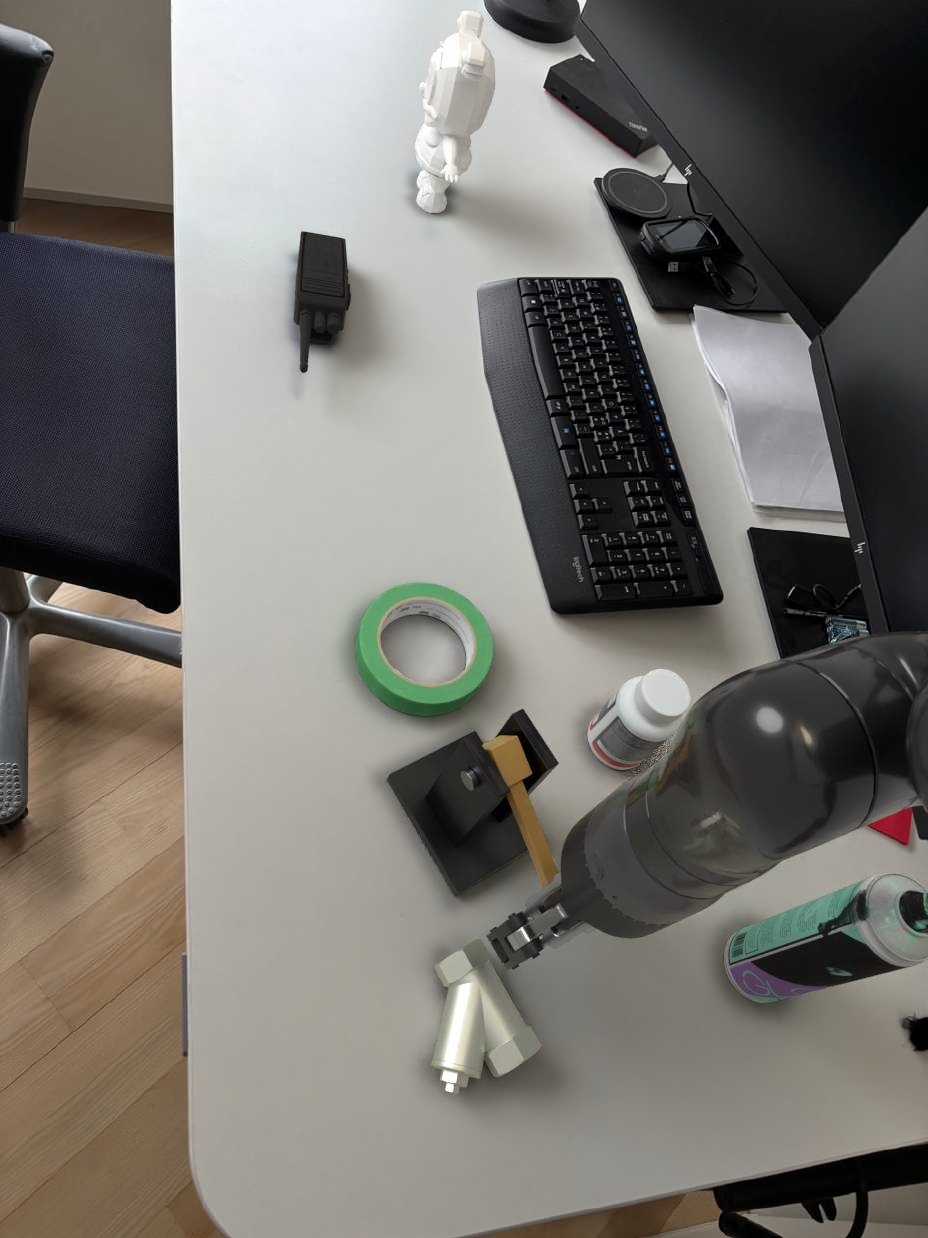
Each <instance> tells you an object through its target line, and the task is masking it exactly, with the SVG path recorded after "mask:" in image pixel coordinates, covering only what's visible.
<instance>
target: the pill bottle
mask: <svg viewBox="0 0 928 1238" xmlns="http://www.w3.org/2000/svg"><path fill="white" fill-rule="evenodd" d="M691 699H692V697H691V691H690V688H689V686H688V685H687V683H686V682H685V680H684V679H683V678H682V677H681V676H680V675H679V674H678V673H676V672H674V671H672V670H670V669H667V668H655V669H652V670H650V671H648V672H647V673H646V674H645V675H639V676H635V677H632V678H630V679H629V680H627V681H626V682H624V683H623V684H622V685H621V686H620V687H619V689H618V690H617V691H616V692H615V693H613V695H612V696H611V698H609V699H608V701H607V702H606V703H605V704H604V705H603V706H602V707H601V708H600V710H599V711H598V712H597V713H596V714H595V716H593V717H592V719H591V720H590V722H589V725H588V728H587V741H588V742H587V743H588V745H589V747H590V749H591V751H592V753H593V755H594V756H595V757H596V758H597V759H598V760H599V761H600V762H601V763H602V764H604V766H605V765H606V766H607V767H609V768H612V769H615V770H619V771H620V770H622V771H624V770H625V771H626V770H631V769H634V768H636V767H637V766H639V765H640V764H642V763H643V762H644V761H645V760H646V759H648V757H649V756H651V754H653V753H654V752H656V750H657V749H659V748H660V747H661V746H662V745H664V744H665V742H667V741H668V740H669V739H671V738H672V737H673V736H674V735H675V734H676V733H677V731H678V729H679V727H680V725H681V723H682V721H683V718H684V713H686V712H687V711H688V710H689V708H690V704H691Z"/></svg>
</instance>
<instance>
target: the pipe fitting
mask: <svg viewBox="0 0 928 1238" xmlns="http://www.w3.org/2000/svg"><path fill="white" fill-rule="evenodd" d="M490 960H491V953H489V951H488V949H487V946H485V944H484V942H483V940H482V939H481V938H476V939H474V940H472V941H471V942H469V943H468V944H466V945H464V946H462V947H461V948H460V949H458V950H457V951H455V952H453V953H452V954H450V955H448V956H447V957H446V958H444V959H442V960H441V961H440V962H438V963H437V964H435V965H434V971H435V972H436V974H437V976H438V978H439V980H440V981H441V984H442V986H443V987H445V988H447V989H448V990H447V995H446V999H445V1003H444V1007H443V1011H442V1016H441V1021H440V1025H439V1029H438V1034H437V1038H436V1042H435V1047H434V1052H433V1056H432V1060H431V1067H433V1068H436V1069H438V1070H441V1072H440V1075H439V1081H440V1082H442V1083H445V1085H444V1092H447V1093H450V1094H454V1095H459V1091H460V1088H467V1087H468V1083H469V1078H472V1079H477V1080H479V1079H481V1077H482V1072H483V1067H484V1063H485V1064H486V1065H487V1067H488V1069H489V1071H490V1072H491V1075H492V1076H493V1077H495V1078H500V1077H502V1076H504V1075H506V1074H508V1073H510V1072H511V1071H513V1070H514V1069H516V1068H517V1067H518V1066H520V1065H522V1064H523V1063H525V1062H526V1061H527V1060H529V1059H530V1058H531V1057H533V1056H534V1055H535V1054H536V1053H538V1052H539V1051H540V1049H541V1047H542V1043H541V1041H540V1040H539V1038H538V1037H537V1034H536V1033H535V1031H534V1029H533V1028H532V1026H530V1025H527V1024H526V1022H525V1021H524V1019H523V1017H522V1016H521V1014H520V1012H519V1011H518V1008H517V1007H516V1005H515V1003H514V1002H513V1000H512V998H511V996H510V994H509V993H508V991H507V989H506V988H505V986H504V984H503V982H502V981H501V979H500V977H499V974H498V973H497V972H496V970H495V968H494V966H493V964H492V962H491V961H490Z"/></svg>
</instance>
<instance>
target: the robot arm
mask: <svg viewBox="0 0 928 1238" xmlns="http://www.w3.org/2000/svg"><path fill="white" fill-rule="evenodd" d="M674 735H675V736H674V737H673V738H672V739H673V740H672V742H671V743H670V746H669V748H668V750H667V752H665V754H664V755H663V756H661V757H660V758H659V759H658V760H657V761H655V762H654V763H653V764H652V765H651V766H649V767H648V768H647V769H646V770H645V771H643V772H640V773H639V774H637V775H635V776H633V777H631V778H629V779H627V780H626V781H624V782H623V783H621V785H619V786H618V787H617V788H616V789H614V790H613V791H612V792H610V794H609V795H607V796H606V797H605V798H604V799H603V800H602V801H600V802H599V803H598V804H597V805H595V806H593V808H592V809H591V810H590V811H588V812H587V813H586V814H585V815H584V816H583V817H581V818H580V819H579V820H578V821H577V822H576V823H575V824H574V825H573V827H571V829H570V830H569V832H568V834H567V835H566V838H565V840H564V841H563V845H562V849H561V854H560V862H559V863H560V865H559V866H560V868H559V869H560V871H558V873H557V874H555V875H554V877H553V881H552V882H551V883H550V884H548V885H547V886H545V887H544V888H543V887H542V888H541V889H540V890H538V891H537V892H535V893H534V894H532V895H530V896H529V897H528V898H527V899H526V900H525V902H524V905H525V906H524V907H525V910H521V911H518V912H517V913H516V911H514V912H512V913H511V914H509V915H508V916H507V918H508V919H507V920H505V921H504V922H502V923H501V924H499V925H498V926H494V927H493V928H491V929H489V933H488V934H486V935H485V936H486V939H487V940H488V942H489V944H490V946H491V947H492V949H493V951H494V952H495V954H496V956H497V958H498V959H499V961H500V962H501V964H502V966H503V968H504V969H505V971H506V972H507V971H510V970H512V971H514V970H516V969H517V968H519V967H520V965H521V964H522V963H525V962H526V961H528V960H530V959H531V958H532V960H534V959H536V958H538V957H539V956H540V955H541V953H540V952H542V951H543V950H544V949H545V947H546V946H548V947H550V948H551V949H553V950H554V949H555V950H556V949H559V948H560V947H562V946H564V945H565V944H567V943H568V942H570V941H572V940H573V939H575V938H576V937H578V936H580V935H581V934H583V933H586V934H591V933H593V932H594V931H596V930H597V931H600V932H602V933H603V934H606V935H608V936H611V937H614V938H620V939H627V940H629V939H631V940H632V939H641V938H645V937H648V936H650V935H653V934H655V933H657V932H660V931H662V930H663V929H666V928H668V927H670V926H672V925H674V924H677V923H678V922H681V921H683V920H685V919H687V918H689V917H692V916H693V915H696V914H698V913H700V912H703V911H704V910H706V909H708V908H709V907H711V906H712V905H714V904H715V903H716V902H718V901H720V899H721V898H722V897H724V896H725V895H726V894H728V893H729V892H732V891H733V890H736V889H738V888H740V887H742V886H744V885H746V884H749V883H750V882H752V881H754V880H757V879H759V878H760V877H762V876H764V875H765V874H767V873H769V872H770V871H772V870H773V869H774V868H776V867H777V866H778V865H780V864H781V863H782V862H783V861H785V860H788V859H790V858H793V857H795V856H798V855H801V854H803V853H805V852H808V851H810V850H813V849H816V848H817V847H820V846H823V845H824V844H827V843H830V842H831V841H834V840H836V839H838V838H841V837H843V836H846V835H849V833H851V832H854V831H856V830H859V829H861V828H863V827H866V826H869V825H870V824H873V823H876V822H878V821H880V820H883V819H885V818H887V817H890V816H892V815H896V814H897V813H898V812H901V811H903V810H907V809H909V808H912V807H920V806H922V807H923V809H924V810H925V811H926V813H927V814H928V631H926V630H910V631H909V630H903V631H889V632H880V633H872V634H871V633H870V634H865V635H858V636H854V637H853V636H852V637H850V638H845V639H841V640H838V641H833V642H830V643H828V644H824V645H821V646H818V647H815V648H813V649H810V650H806V651H803V652H800V653H797V654H793V655H790V656H786V657H784V658H780V659H776V660H774V661H771V662H767V663H764V664H761V665H758V666H754V667H751V668H749V669H746V670H744V671H741V672H739V673H737V674H734V675H732V676H731V677H728V678H727V679H725V680H723V681H722V682H720V683H718V684H717V685H715V686H714V687H712V688H711V689H710V690H708V691H707V692H706V693H704V694H703V695H702V696H700V698H698V699H697V700H696V701H695V702H694V703H693V704H692V705H691V707H689V708H688V709H687V711H686V712H685V715H684V716H683V718H682V722H681V725H680V727H679V728H678V730H677V731H676V732H675V734H674ZM560 887H561V888H560ZM559 888H560V889H559ZM557 889H558V890H557ZM556 890H557V891H556ZM554 891H555V892H554ZM553 892H554V893H553ZM551 893H552V894H551ZM550 894H551V895H550ZM529 918H531V920H532V919H533V920H532V921H530V919H529ZM541 934H543V935H542V937H541V938H540V937H539V935H541Z"/></svg>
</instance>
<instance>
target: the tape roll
mask: <svg viewBox="0 0 928 1238" xmlns="http://www.w3.org/2000/svg"><path fill="white" fill-rule="evenodd" d="M480 611H481V610H479V609H478V607H476V605H475V604H474V603H472V602H471V601H470V599H468V598H466V597H465V596H464V595H462V594H461V593H459V592H458V591H456V590H454V589H451V588H449V587H446V586H443V585H440V584H437V583H430V582H410V583H405V584H400V585H397V586H394V587H391V588H389V589H388V590H385V591H384V592H382V593H381V594H380V595H379V596H377V597H376V598H375V599H374V600H373V601H372V602H371V603H370V604H369V606H368V607H367V609H366V610H365V612H364V614H363V617H362V619H361V622H360V625H359V627H358V632H357V635H356V639H355V646H354V647H355V648H354V657H355V663H356V667H357V670H358V672H359V675H360V677H361V679H362V681H363V682H364V683H365V685H366V687H367V688H368V690H369V691H370V692H371V693H372V694H373V695H374V696H375V697H376V698H378V699H379V701H380V702H382V703H384V704H385V705H387V706H388V707H390V708H392V709H394V710H396V711H398V712H402V713H404V714H408V715H412V716H417V717H418V716H419V717H434V716H440V715H444V714H445V715H446V714H448V713H450V712H454V711H456V710H457V709H458V710H459V708H461V707H463V706H464V705H465V704H467V703H468V702H469V701H470V700H471V699H472V698H473V697H474V695H476V693H477V692H478V690H479V689H480V688H481V686H482V684H483V683H484V681H485V679H486V678H487V676H488V674H489V672H490V669H491V667H492V663H493V659H494V658H493V657H494V641H493V636H492V632H491V629H490V626H489V624H488V621H487V620H486V618H485V617H484V615H483V614H482V612H480ZM410 615H422V616H423V615H424V616H429V617H433V618H435V619H438V620H439V621H442V622H443V623H445V624H446V625H448V626H449V627H450V628H451V629H452V630H453V631H454V632H455V633H456V634H457V635H458V637H459V638H460V640H461V642H462V644H463V648H464V650H465V655H466V656H465V658H466V661H465V668H464V670H462V672H460V674H458V675H457V676H456V677H454V678H451V679H450V680H447V681H445V682H439V683H428V682H427V683H426V682H422V681H421V682H420V681H416V680H414V679H410V678H409V677H407V676H405V675H404V674H403V673H401V672H400V671H399V670H398V669H396V668H394V667H393V665H392V664H391V663H390V662H389V661H388V659H387V657H386V655H385V653H384V651H383V648H382V642H381V635H382V632H383V631H384V629H386V628H387V626H389V625H390V623H391V624H392V622H393V621H395V620H398V619H399V618H402V617H406V616H410Z"/></svg>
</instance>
